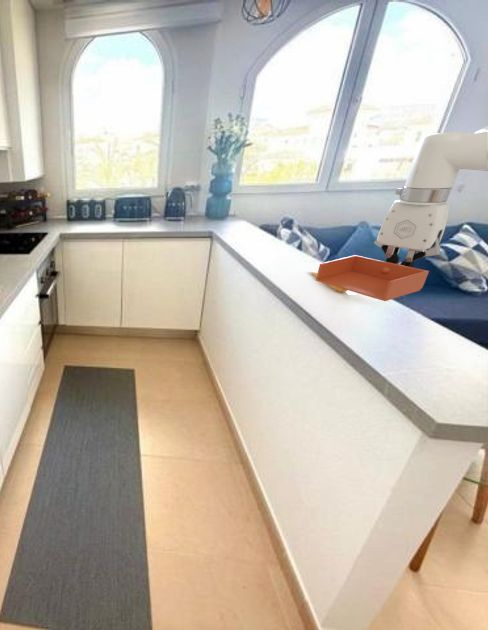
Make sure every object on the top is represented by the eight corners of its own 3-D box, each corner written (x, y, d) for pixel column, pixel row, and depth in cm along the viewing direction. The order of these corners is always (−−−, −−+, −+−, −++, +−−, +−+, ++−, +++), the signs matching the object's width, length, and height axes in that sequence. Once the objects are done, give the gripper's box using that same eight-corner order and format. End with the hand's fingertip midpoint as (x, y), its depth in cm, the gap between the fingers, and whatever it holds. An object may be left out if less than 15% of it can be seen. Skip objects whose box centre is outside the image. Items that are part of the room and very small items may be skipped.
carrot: (347, 295, 110) (356, 282, 108) (335, 290, 110) (343, 278, 108) (312, 279, 129) (319, 268, 127) (301, 275, 128) (308, 264, 127)
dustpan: (385, 301, 72) (392, 281, 70) (315, 280, 85) (320, 263, 83) (445, 282, 79) (453, 263, 77) (372, 265, 91) (378, 249, 90)
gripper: (372, 194, 81) (349, 268, 89) (462, 201, 67) (426, 288, 76) (392, 191, 83) (368, 263, 91) (484, 197, 70) (446, 281, 78)
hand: (395, 274), depth 83 cm, fingers closed on dustpan, 2 cm apart
